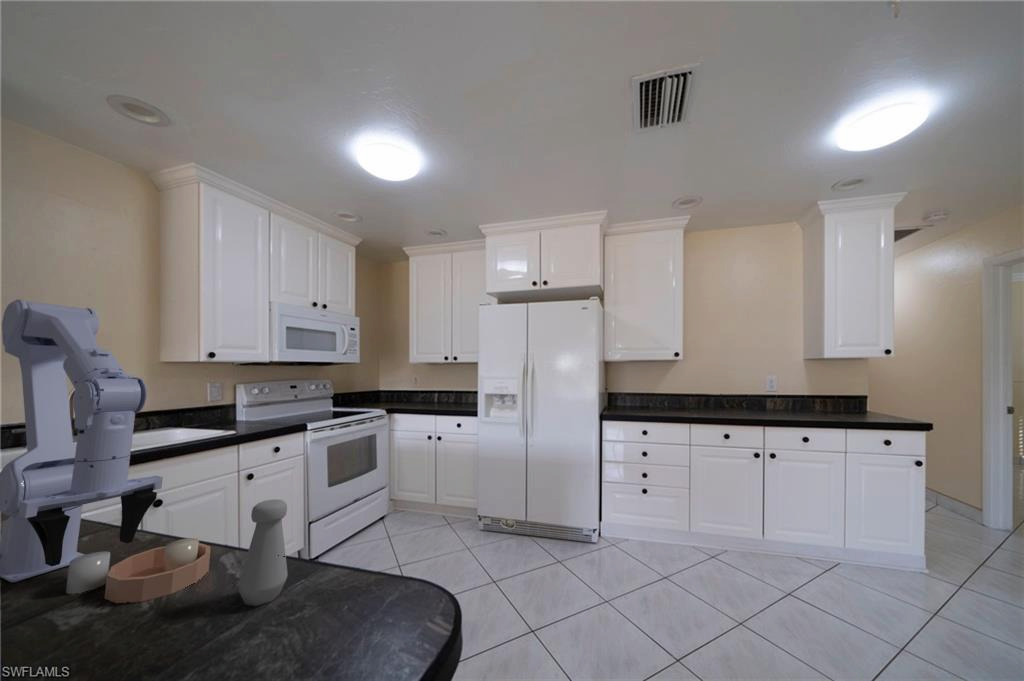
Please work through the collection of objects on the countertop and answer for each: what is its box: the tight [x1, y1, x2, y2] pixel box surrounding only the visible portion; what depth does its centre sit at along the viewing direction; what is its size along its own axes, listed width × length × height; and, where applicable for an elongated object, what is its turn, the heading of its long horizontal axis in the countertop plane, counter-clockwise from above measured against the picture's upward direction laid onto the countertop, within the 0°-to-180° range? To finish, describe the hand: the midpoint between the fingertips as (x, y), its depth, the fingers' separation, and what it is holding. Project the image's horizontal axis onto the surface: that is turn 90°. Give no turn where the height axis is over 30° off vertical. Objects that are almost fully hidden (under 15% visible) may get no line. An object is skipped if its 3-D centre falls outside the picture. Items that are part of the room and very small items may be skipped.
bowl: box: [104, 542, 211, 604], centre depth 56 cm, size 11×11×3 cm
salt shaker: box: [238, 498, 288, 607], centre depth 53 cm, size 6×6×13 cm
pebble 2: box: [163, 537, 200, 572], centre depth 58 cm, size 4×4×4 cm
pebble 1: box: [65, 550, 111, 595], centre depth 54 cm, size 4×4×4 cm
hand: (91, 552), depth 55 cm, fingers open, 7 cm apart
